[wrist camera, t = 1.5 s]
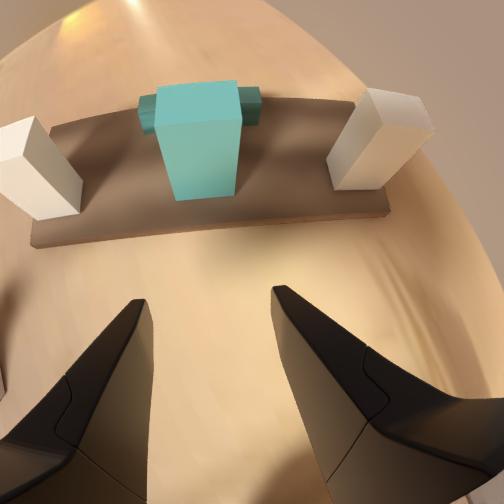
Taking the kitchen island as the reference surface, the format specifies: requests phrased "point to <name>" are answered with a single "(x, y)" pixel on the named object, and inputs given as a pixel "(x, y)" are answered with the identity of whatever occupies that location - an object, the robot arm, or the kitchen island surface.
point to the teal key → (199, 137)
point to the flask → (1, 386)
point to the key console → (206, 209)
